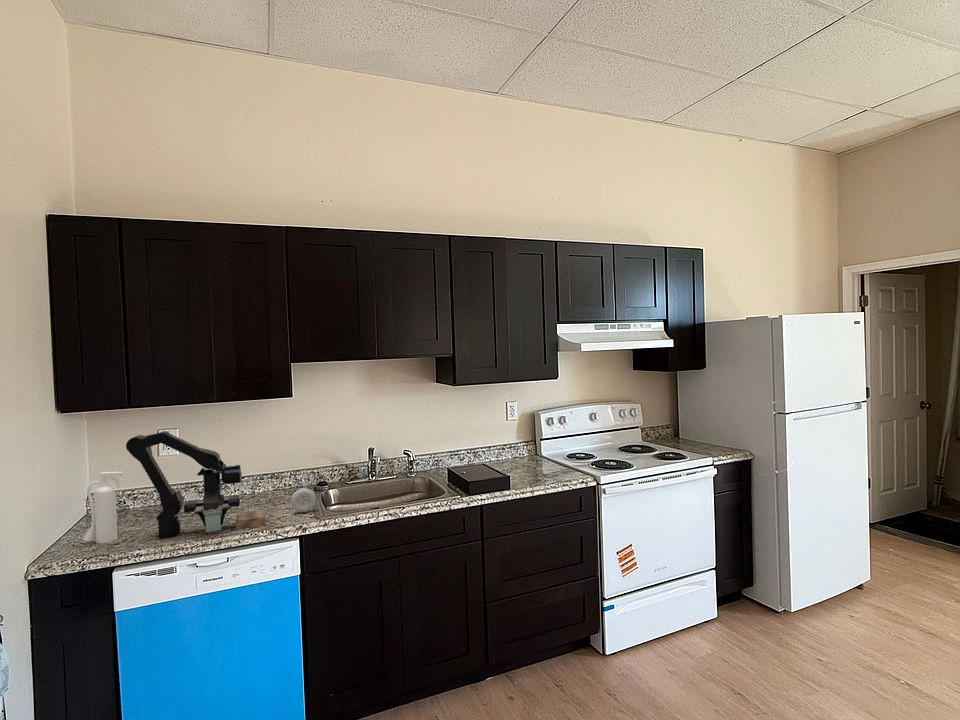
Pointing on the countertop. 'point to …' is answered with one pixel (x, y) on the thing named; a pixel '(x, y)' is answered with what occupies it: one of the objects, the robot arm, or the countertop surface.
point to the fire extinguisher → (103, 509)
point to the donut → (306, 506)
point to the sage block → (213, 521)
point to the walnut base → (250, 519)
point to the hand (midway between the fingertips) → (213, 526)
